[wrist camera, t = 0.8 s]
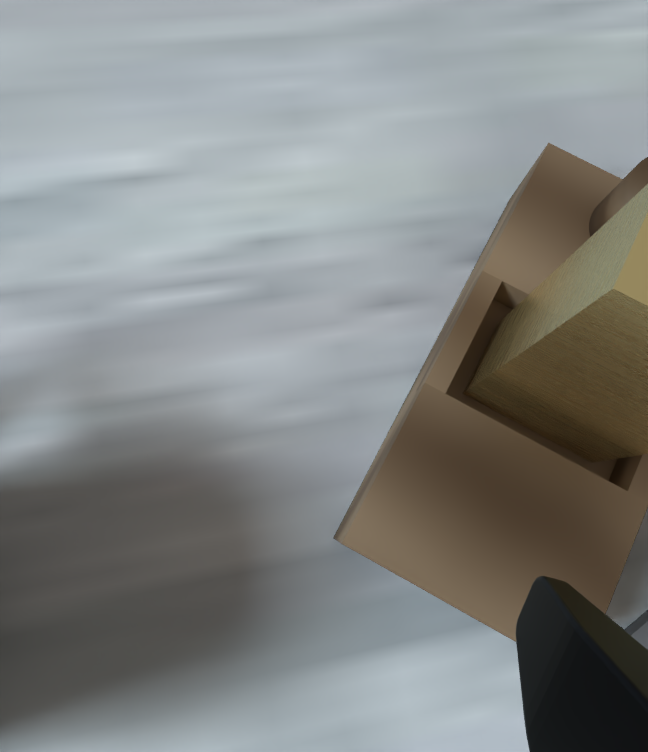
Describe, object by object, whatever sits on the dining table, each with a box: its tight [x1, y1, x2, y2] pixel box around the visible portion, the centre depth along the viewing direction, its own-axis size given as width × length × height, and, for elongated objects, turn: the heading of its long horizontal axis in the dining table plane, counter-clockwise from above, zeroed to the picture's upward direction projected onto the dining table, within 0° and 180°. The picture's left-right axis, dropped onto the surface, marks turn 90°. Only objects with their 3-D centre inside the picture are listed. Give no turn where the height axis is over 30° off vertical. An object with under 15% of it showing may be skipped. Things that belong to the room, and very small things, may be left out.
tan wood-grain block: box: [463, 184, 648, 463], centre depth 16 cm, size 3×5×10 cm, turn 62°
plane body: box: [334, 143, 648, 642], centre depth 20 cm, size 16×8×6 cm, turn 151°
